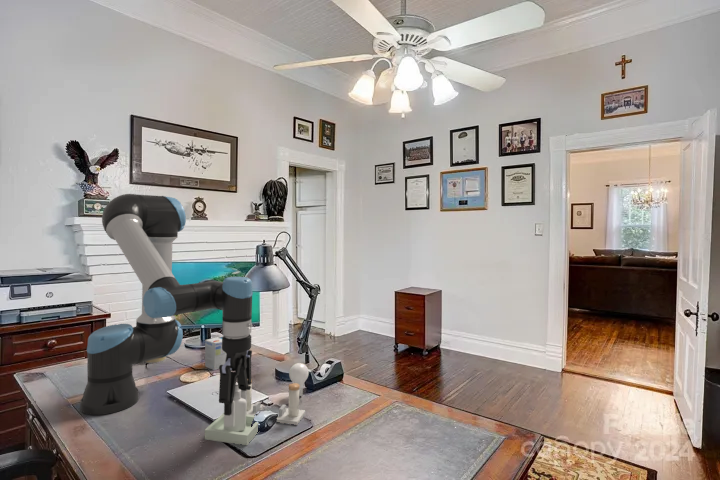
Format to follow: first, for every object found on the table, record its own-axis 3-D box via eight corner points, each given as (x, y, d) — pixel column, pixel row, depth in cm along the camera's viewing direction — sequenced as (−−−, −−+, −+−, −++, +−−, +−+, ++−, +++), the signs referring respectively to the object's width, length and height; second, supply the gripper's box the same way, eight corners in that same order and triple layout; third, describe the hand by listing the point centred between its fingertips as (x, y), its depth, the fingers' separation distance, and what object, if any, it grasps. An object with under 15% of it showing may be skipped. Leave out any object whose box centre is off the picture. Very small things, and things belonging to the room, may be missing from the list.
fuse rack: (232, 416, 114) (233, 383, 114) (243, 405, 121) (244, 374, 121) (297, 425, 110) (298, 391, 110) (305, 413, 117) (306, 381, 117)
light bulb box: (227, 359, 161) (227, 333, 160) (237, 363, 157) (238, 336, 156) (204, 366, 152) (204, 339, 152) (214, 370, 148) (214, 343, 148)
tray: (204, 439, 102) (204, 429, 102) (224, 420, 112) (225, 411, 112) (247, 445, 100) (247, 435, 100) (263, 425, 110) (264, 416, 110)
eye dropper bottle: (230, 424, 109) (232, 381, 109) (248, 427, 107) (250, 383, 107) (220, 431, 105) (222, 386, 105) (239, 434, 103) (241, 389, 103)
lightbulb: (304, 401, 125) (305, 368, 125) (285, 399, 126) (286, 365, 126) (310, 393, 131) (311, 361, 131) (292, 391, 132) (293, 359, 132)
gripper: (231, 347, 95) (230, 439, 96) (264, 327, 113) (263, 405, 114) (203, 344, 96) (202, 435, 97) (241, 325, 115) (239, 402, 116)
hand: (235, 419), depth 106 cm, fingers open, 6 cm apart
